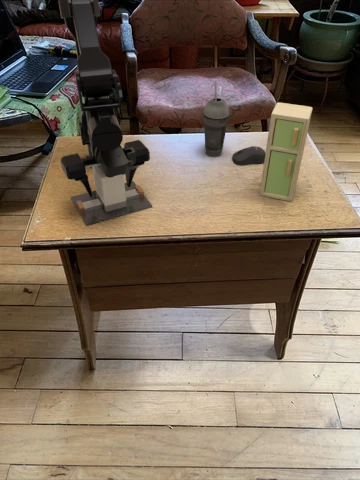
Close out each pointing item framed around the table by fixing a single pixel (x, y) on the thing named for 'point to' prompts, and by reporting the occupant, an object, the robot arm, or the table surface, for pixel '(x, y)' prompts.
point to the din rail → (96, 213)
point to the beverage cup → (215, 124)
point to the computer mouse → (249, 156)
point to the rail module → (109, 189)
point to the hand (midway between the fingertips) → (110, 191)
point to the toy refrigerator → (284, 150)
